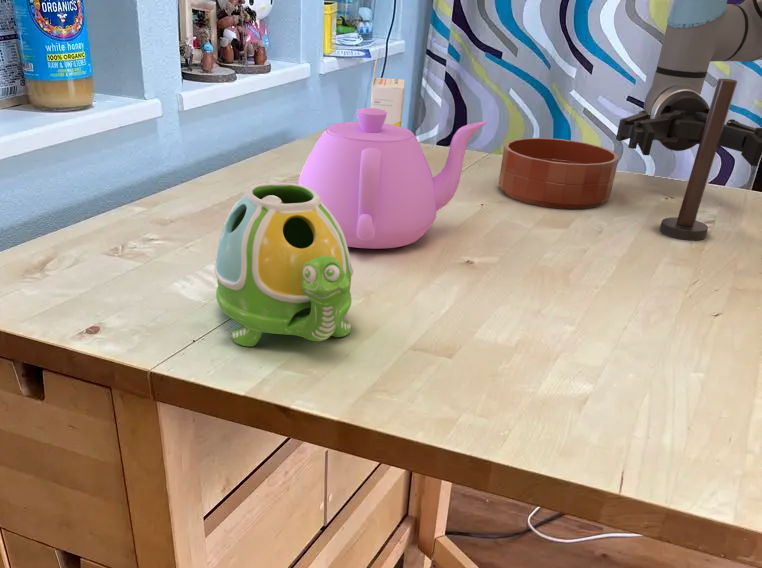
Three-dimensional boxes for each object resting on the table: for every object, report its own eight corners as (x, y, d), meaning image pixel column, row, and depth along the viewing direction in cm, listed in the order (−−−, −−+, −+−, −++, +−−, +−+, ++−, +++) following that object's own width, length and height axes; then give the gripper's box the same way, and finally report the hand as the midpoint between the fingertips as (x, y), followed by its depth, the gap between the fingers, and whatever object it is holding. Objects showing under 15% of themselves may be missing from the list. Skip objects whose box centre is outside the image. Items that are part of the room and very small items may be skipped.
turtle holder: (259, 386, 66) (256, 239, 59) (201, 304, 79) (193, 175, 72) (394, 367, 70) (407, 227, 63) (318, 292, 83) (322, 169, 76)
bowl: (587, 181, 127) (597, 140, 123) (623, 212, 114) (635, 166, 110) (487, 178, 125) (493, 135, 121) (512, 208, 112) (520, 162, 109)
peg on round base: (694, 227, 110) (739, 77, 99) (713, 241, 106) (763, 85, 94) (652, 225, 110) (693, 74, 99) (669, 239, 105) (715, 82, 94)
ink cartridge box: (398, 174, 124) (407, 64, 115) (366, 171, 124) (372, 61, 115) (398, 160, 131) (406, 55, 122) (367, 158, 131) (374, 53, 122)
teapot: (481, 271, 91) (502, 138, 83) (289, 261, 90) (290, 124, 82) (460, 214, 108) (475, 99, 100) (299, 205, 108) (300, 88, 99)
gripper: (757, 154, 121) (792, 190, 104) (589, 137, 123) (597, 170, 107) (776, 98, 116) (816, 126, 100) (601, 82, 119) (611, 107, 102)
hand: (703, 149), depth 103 cm, fingers open, 13 cm apart
